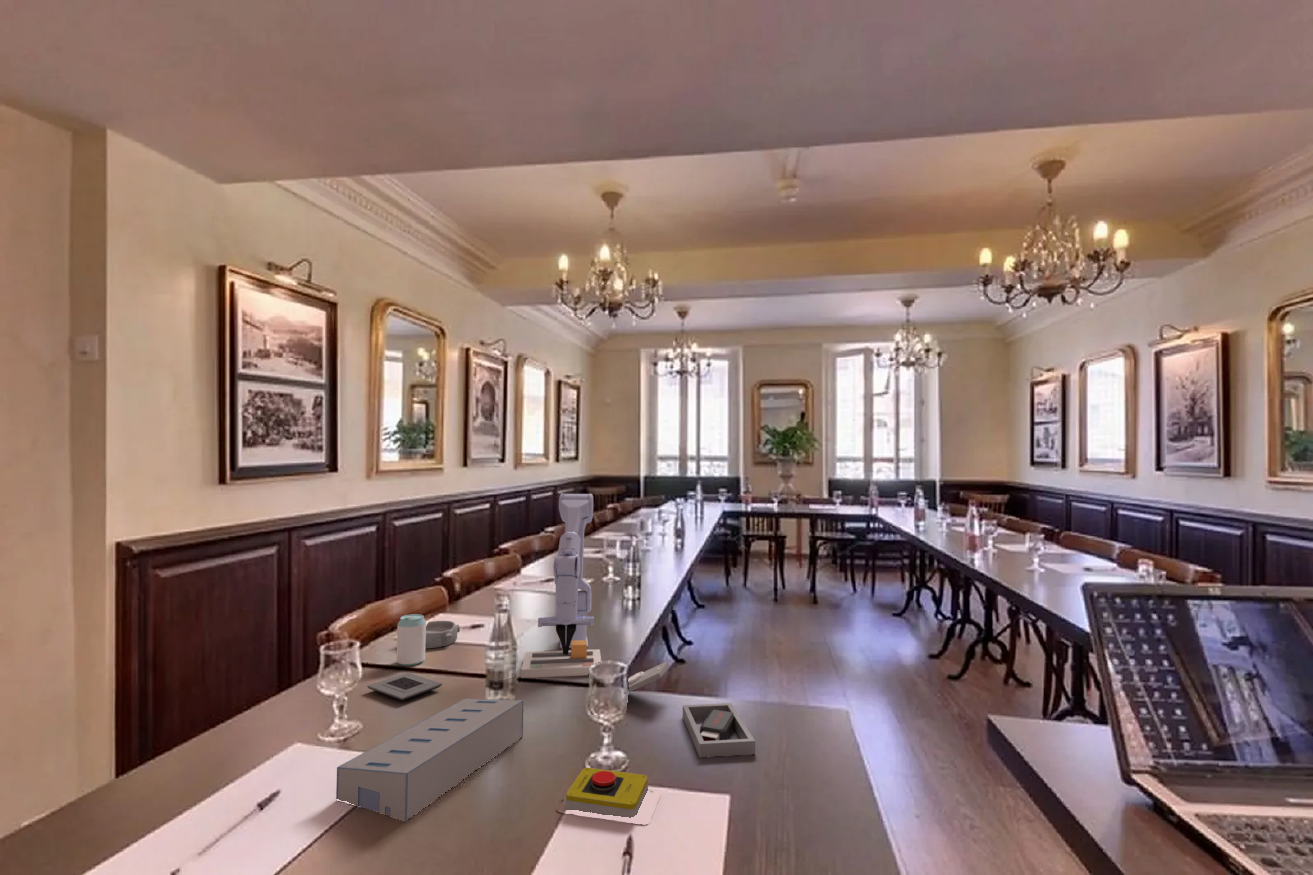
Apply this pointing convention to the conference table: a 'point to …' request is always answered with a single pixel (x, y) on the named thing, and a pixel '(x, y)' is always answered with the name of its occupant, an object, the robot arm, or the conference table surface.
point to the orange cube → (579, 649)
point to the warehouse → (430, 757)
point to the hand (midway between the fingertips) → (565, 653)
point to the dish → (441, 633)
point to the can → (411, 639)
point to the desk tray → (719, 746)
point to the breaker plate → (557, 664)
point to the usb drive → (717, 725)
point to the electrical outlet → (404, 686)
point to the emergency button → (607, 792)
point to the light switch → (647, 676)
